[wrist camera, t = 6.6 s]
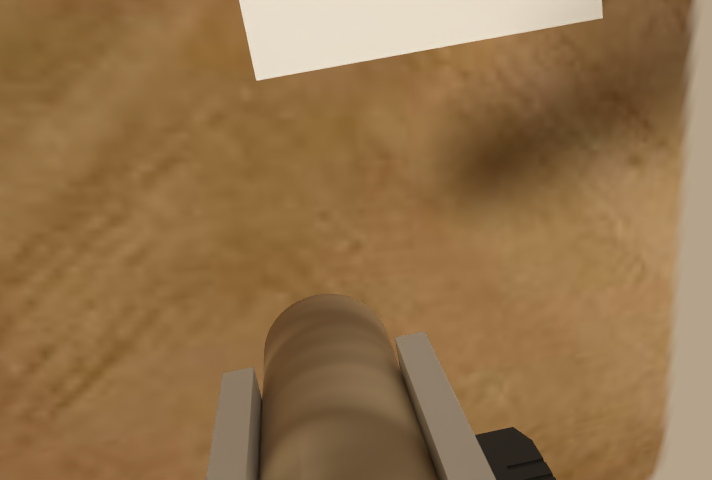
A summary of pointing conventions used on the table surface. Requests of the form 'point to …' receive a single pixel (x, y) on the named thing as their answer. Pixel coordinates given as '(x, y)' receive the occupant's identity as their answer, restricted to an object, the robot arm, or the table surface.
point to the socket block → (387, 27)
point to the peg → (336, 398)
